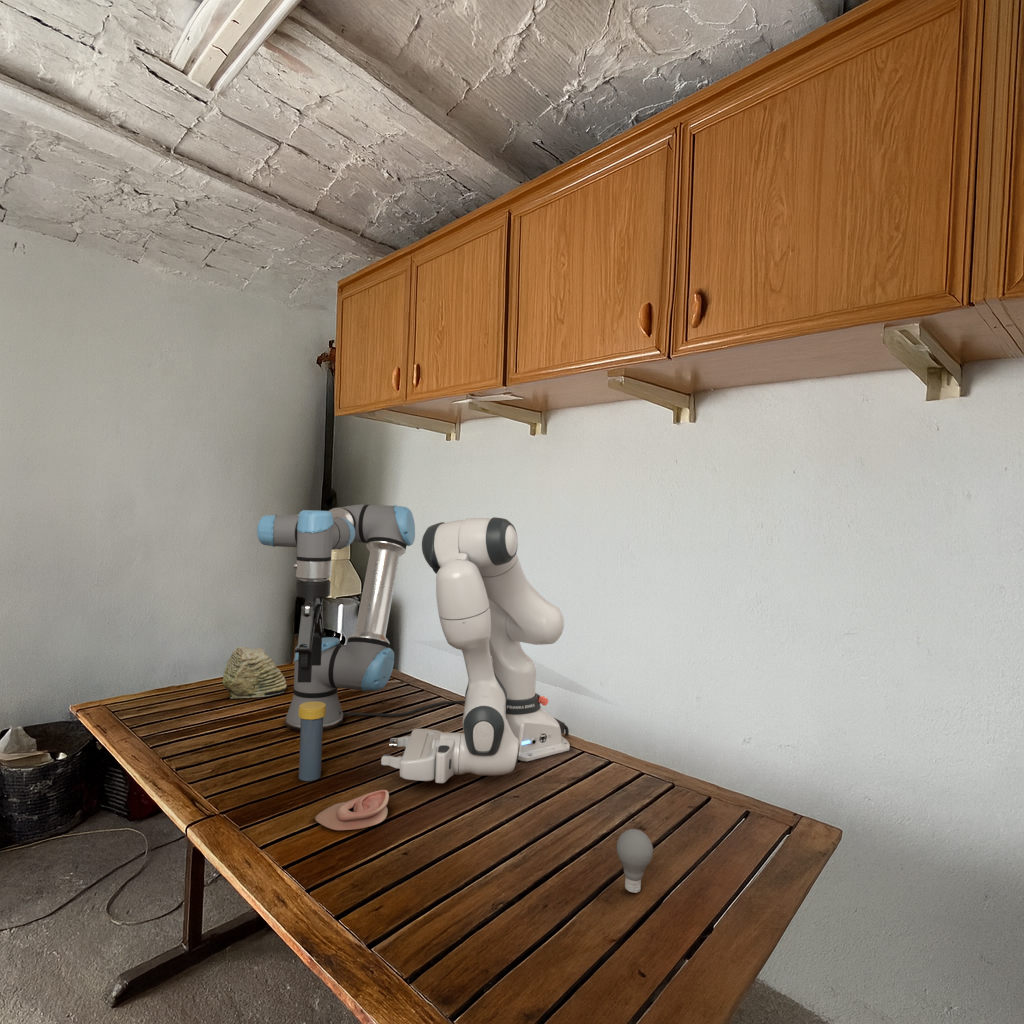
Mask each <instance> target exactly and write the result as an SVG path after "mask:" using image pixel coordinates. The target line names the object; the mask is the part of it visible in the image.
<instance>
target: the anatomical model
mask: <svg viewBox="0 0 1024 1024" xmlns="http://www.w3.org/2000/svg"><path fill="white" fill-rule="evenodd" d="M389 799H390V793H389V791H388V790H387V789H380V790H375V791H372V792H368V793H366V794H363V795H361V796H358V797H355V798H353V799H351V800H348V801H344V802H338V803H336V804H332V805H330V806H328V807H327V808H325V809H323V810H321V811H320V812H318V814H317V815H315V817H314V819H315V820H314V821H315V822H317V823H318V824H319V825H322V826H323V827H325V828H327V829H331V830H333V831H350V830H351V831H353V830H360V829H365V828H368V827H373V826H375V825H379V824H381V823H382V822H384V821H385V820H386V819H387V816H388V813H389V812H388V811H389V809H388V807H387V805H388V803H389Z"/></svg>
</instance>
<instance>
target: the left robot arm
mask: <svg viewBox="0 0 1024 1024" xmlns="http://www.w3.org/2000/svg"><path fill="white" fill-rule="evenodd" d="M256 536H257V539H258V542H259V543H260V544H261V545H263V546H269V547H273V548H274V547H275V548H276V547H281V548H282V547H283V548H287V547H288V548H296V563H294V564H293V568H294V569H296V571H295V577H296V578H297V580H296V581H295V589H294V594H295V597H297V598H299V599H304V604H302V605H301V606H300V620H299V630H298V636H297V637H298V638H297V645H296V647H295V648H294V653H295V654H294V659H293V661H294V672H293V695H292V696H293V697H292V699H291V702H290V704H289V708H288V711H287V713H286V715H285V726H286V728H287V729H289V730H291V731H294V732H295V731H296V732H300V726H301V718H300V717H299V706H300V705H301V704H302V703H306V702H312V701H317V702H323V703H325V704H326V714H325V716H324V717H323V732H325V731H329V730H332V729H335V728H337V727H339V726H340V725H342V723H343V722H344V716H355V717H356V716H362V717H363V716H364V717H401V716H407V715H411V714H414V713H417V712H419V711H423V710H426V709H430V708H433V707H438V706H442V705H450V704H451V705H452V704H465V700H447V701H440V702H436V703H430V704H428V705H424V706H420V707H417V708H414V709H411V710H408V711H405V712H404V711H403V712H398V713H382V712H343V709H342V706H341V702H340V699H339V695H338V689H345V690H356V691H363V692H368V691H369V692H377V691H378V692H379V691H381V690H382V689H384V688H385V686H386V685H387V684H388V682H389V681H390V678H391V677H392V676H391V675H392V673H393V670H394V666H395V665H394V664H395V652H394V650H393V649H392V648H391V647H390V645H391V643H390V641H389V639H388V638H387V637H386V636H387V629H388V624H389V619H390V613H391V608H392V607H391V606H392V603H393V602H392V601H393V597H394V596H393V595H394V590H395V584H396V577H397V573H398V566H399V561H400V557H402V556H403V555H404V554H405V553H406V551H407V547H411V546H412V545H413V544H414V542H415V538H416V524H415V519H414V515H413V512H412V510H411V509H410V508H409V507H407V506H401V505H397V504H394V505H383V504H367V503H365V504H364V503H362V504H361V503H360V504H353V505H347V506H340V507H333V508H331V509H329V510H317V509H316V510H315V509H313V510H311V509H310V510H309V509H303V510H301V511H300V512H299V513H298V514H288V515H279V514H278V515H277V514H266V515H263V516H262V517H261V518H260V519H259V521H258V523H257V527H256ZM353 542H354V543H362V544H363V543H364V544H366V545H365V546H366V548H367V550H368V551H369V557H368V561H367V562H368V563H367V567H366V572H365V577H364V582H363V588H362V593H361V598H360V602H359V603H360V604H359V608H358V613H357V619H356V623H355V624H356V625H355V628H354V632H353V633H352V634H350V635H349V636H348V637H347V641H346V644H341V641H340V639H339V638H338V637H334V636H331V637H330V636H326V631H325V628H324V611H323V609H324V608H323V607H324V606H323V605H324V604H323V599H325V598H328V597H330V595H331V587H332V586H331V580H330V579H331V577H332V568H333V567H332V563H333V562H332V556H333V555H332V554H333V551H334V550H342V549H345V548H347V547H349V546H350V545H351V544H352V543H353Z"/></svg>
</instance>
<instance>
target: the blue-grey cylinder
mask: <svg viewBox="0 0 1024 1024" xmlns="http://www.w3.org/2000/svg"><path fill="white" fill-rule="evenodd" d="M323 735H324V731H323V717H322V718H319V719H314V720H306V719H301V726H300V731H299V753H298V757H299V758H298V779H299V780H300V781H303V782H313V781H316V780H319V779H320V778H321V777H322V762H323V761H322V760H323V739H324V737H323Z"/></svg>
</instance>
